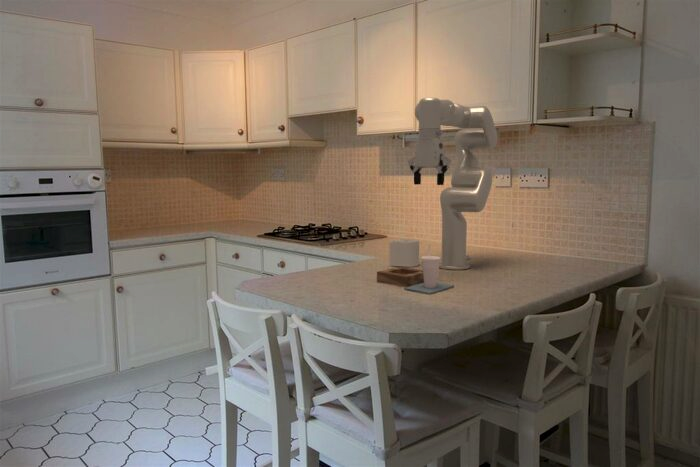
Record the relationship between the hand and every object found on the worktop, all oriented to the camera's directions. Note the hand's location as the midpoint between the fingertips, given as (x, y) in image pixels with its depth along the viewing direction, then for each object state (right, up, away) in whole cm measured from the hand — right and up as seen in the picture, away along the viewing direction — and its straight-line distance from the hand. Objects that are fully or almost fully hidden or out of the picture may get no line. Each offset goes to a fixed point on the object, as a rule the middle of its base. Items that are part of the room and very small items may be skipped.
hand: (428, 184), depth 188 cm
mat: (-2, -35, -12) cm, 37 cm away
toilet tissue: (-5, -30, +31) cm, 43 cm away
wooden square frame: (-9, -34, -1) cm, 35 cm away
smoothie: (-1, -35, -12) cm, 37 cm away
